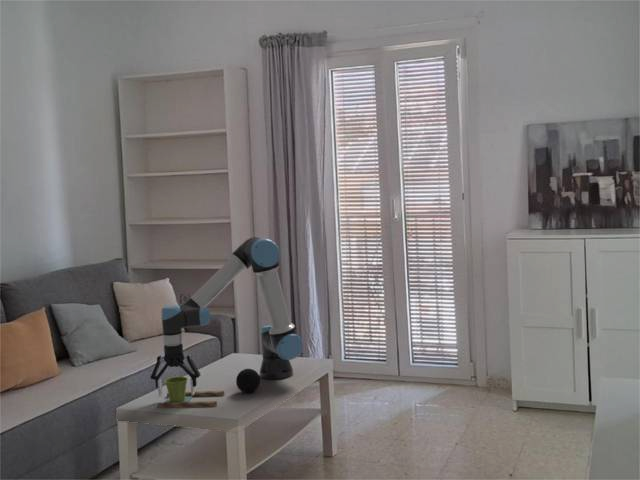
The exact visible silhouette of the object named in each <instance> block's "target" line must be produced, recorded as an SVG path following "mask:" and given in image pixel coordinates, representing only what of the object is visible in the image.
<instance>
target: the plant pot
mask: <svg viewBox="0 0 640 480" xmlns="http://www.w3.org/2000/svg"><path fill="white" fill-rule="evenodd" d="M188 379H189V378H188V377H186V376H175V377H168V378H167V379H164V384H165V386H166V389H167V393H168V394H169V398H170V401H171V402H181V401H184V400H185V392H187V390H186V389H187V382H188Z"/></svg>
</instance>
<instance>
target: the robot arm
mask: <svg viewBox="0 0 640 480" xmlns="http://www.w3.org/2000/svg"><path fill="white" fill-rule="evenodd" d="M230 255H231V256H230V258H229V259H228V260H227V261H226V262H225V263H224V264H223V265H222V266H221V267H220V268H219V269H218V270H217V271H216V272H215V273H214V274H213V275H211V277H210V278H209V279H208V280H207V281H206V282H205V283H204V284H203V285H202V286H201V287H200V288H199V289H198V290H197V291H196V292H195V293H194V294H193V295H192V296H191V297H190V298H188V300H187V301H185V302H183V303H181V304H179V305H167V306H164V307H163V308H162V309H161V324H162V339H163V344H164V346H163V351H164V356H162V355H158V356H157V357H156V363H155V365H154V368H153V371H152V373H151V376H150V379H151V380H155V381H154V382H155V388H156V389H158V397H162V396H163V393H164V392H163V382H162V378H161V377H162V376H163V374H164V373H165V371H166V370H167V369H168V367H170V368H174V367H175V368H178V367H180V368H181V369H182V370H184V372H185V374H187V375H188V376H189V377H190V380H189V381H190V383H189V384H190V392H191V395H194V394H195V392H196V389H195V387H197V385H198V384H197V383H198V382H197V379H199V378H200V376H201V373H200V371H199V369H198V368H197V365H196V364H195V362H194V361H193V358H192V354H190V353H189V354H186V355H185V354H184V346H183V336H182V335H183V333H182V332H183V330H182V329H187V328H195V327H203V326H207V325H209V324H210V323H211V313H210V309H209V308H208V306H209V305H210V303H212V301H214V299H215V298H217V297H218V296H219V295H220V294H221V292H223V291H224V290H225V289H226V288H227V287H228V285H230V284H231V283H232V282H233V281H234V280H235V279H236V278H237V277H238V276H239V275H240V274H241V273H242V272H243V271H247V270H248V269H249V268H250V267H251V269H252V273H253V274H255V275H257V277H258V282H259V286H260V290H261V293H262V298H263V302H264V305H265V308H266V312H267V316H268V320H269V323H270V324H269V325H264V326H262V327H261V329H260V335H261V337H260V338H261V339H260V340H261V352H262V360H261V363H260V364H261V366H260V369H259V377H260V379H266V380H280V379H285V378H286V379H287V378H289V377H292V375H294V368H293V366H292V363H291V361H292V360H294V359H297V358H298V357H299V356H300V355H301V353H302V351H303V346H304V345H303V340H302V338H301V337H300V335H298V333H297V328H296V325H295V324H294V323H292V322H291V319H290V316H289V312H288V307H287V304H286V300H285V297H284V293H283V288H282V285H281V281H280V276H279V272H278V269H279V268H280V263H279V262H280V261H279V259H280V255H281V254H280V248H279V247H278V245H277V243H275V242H274V241H273V240H271V239H269V238H267V237H257V236H254V237H250V238H248V239H246V240H245V241H244V242H243V243H242V244H240V245H239V246H238V247H237V248H236V249H235V250H234V252H232V253H231V254H230ZM184 360H185V361H187V363H188V365H189V366H188V365H187V364H186V362H184ZM163 361H164V362H165V364H164V366H163V367H162V369H160V370H159V368H160V367H161V363H162V362H163ZM158 371H159V373H158ZM157 373H158V374H157Z"/></svg>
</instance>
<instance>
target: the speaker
mask: <svg viewBox="0 0 640 480" xmlns="http://www.w3.org/2000/svg"><path fill="white" fill-rule="evenodd" d="M235 382H236V386H237V388H238V390H240V392H243V393H245V394H250V393H254V392H255V391H256V390H257V389H258V388H259V387H260V384H261V377H260V374H259V373H258V372H257V371H256V370H255V369H252V368H244V369H242V370H240V372H238V374H237V376H236V380H235Z"/></svg>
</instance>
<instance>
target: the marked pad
mask: <svg viewBox="0 0 640 480" xmlns="http://www.w3.org/2000/svg"><path fill="white" fill-rule="evenodd" d="M192 398H193V397H192V396H189V397H185V400H184V401H181V402H191V400H192ZM165 402H171V401H170V398H169V397H166V399H165V400H164V401H163V403H165Z"/></svg>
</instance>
